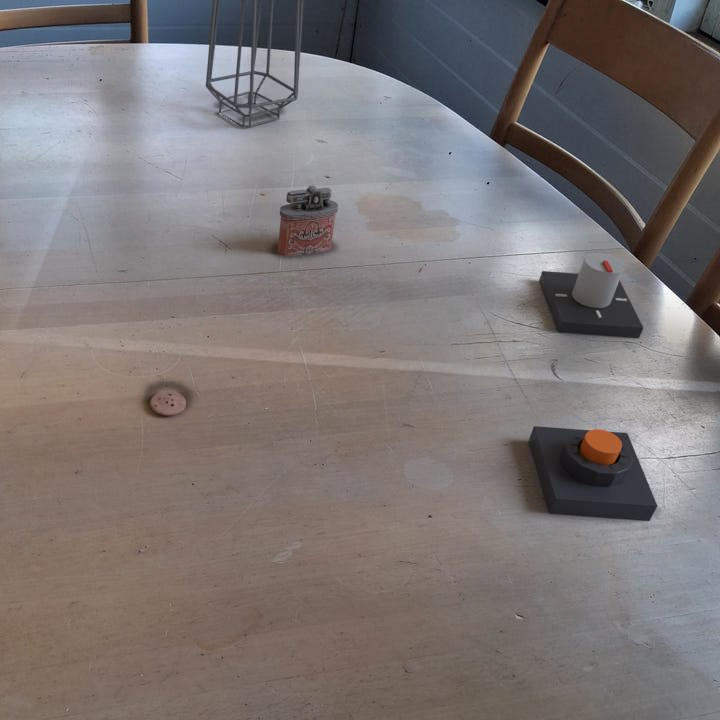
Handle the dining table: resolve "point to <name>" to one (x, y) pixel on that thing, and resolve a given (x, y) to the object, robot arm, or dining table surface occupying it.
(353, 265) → the dining table surface
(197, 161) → the dining table surface
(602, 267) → the timer dial
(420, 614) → the dining table surface
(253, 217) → the dining table surface
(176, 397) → the cookie
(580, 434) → the button block
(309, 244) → the lighter
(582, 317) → the dial panel
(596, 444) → the button
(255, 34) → the geometric lantern
